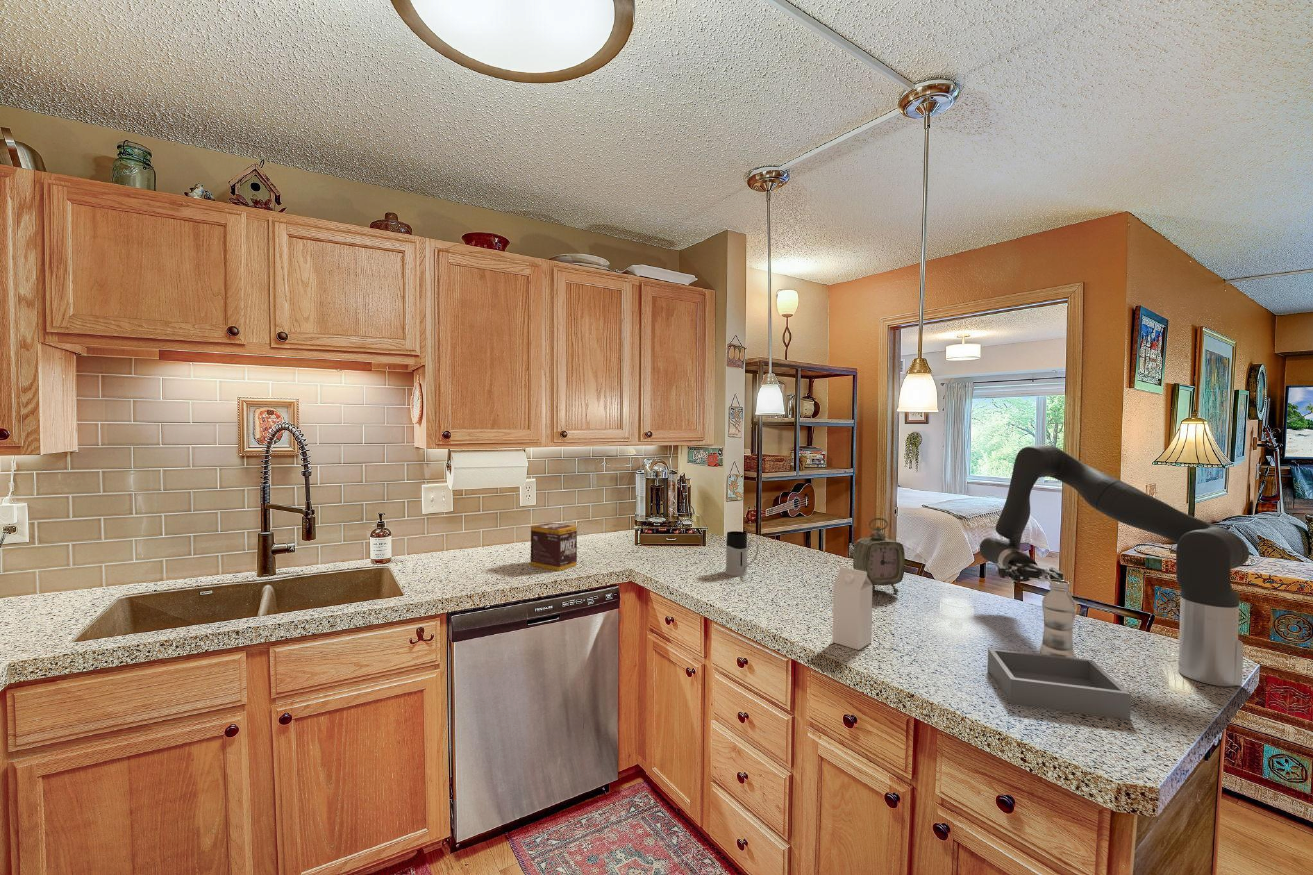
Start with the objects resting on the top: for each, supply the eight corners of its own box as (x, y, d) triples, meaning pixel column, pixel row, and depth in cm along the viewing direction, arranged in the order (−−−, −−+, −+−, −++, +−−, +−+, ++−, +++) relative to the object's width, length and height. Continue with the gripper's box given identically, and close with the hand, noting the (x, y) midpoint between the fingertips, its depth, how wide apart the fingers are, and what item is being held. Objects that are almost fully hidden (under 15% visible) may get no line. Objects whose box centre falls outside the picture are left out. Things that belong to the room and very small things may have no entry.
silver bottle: (1040, 658, 133) (1042, 575, 132) (1075, 666, 129) (1078, 581, 128) (1037, 667, 128) (1040, 581, 127) (1074, 675, 124) (1076, 587, 123)
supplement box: (559, 571, 207) (559, 530, 207) (530, 565, 216) (530, 525, 215) (577, 565, 216) (577, 526, 216) (548, 560, 224) (549, 521, 224)
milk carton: (845, 635, 146) (846, 564, 146) (871, 643, 141) (872, 569, 141) (832, 642, 141) (833, 568, 141) (858, 650, 136) (860, 574, 136)
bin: (1091, 682, 120) (1092, 659, 120) (1130, 720, 105) (1130, 694, 105) (987, 669, 126) (988, 648, 126) (1010, 703, 111) (1010, 679, 111)
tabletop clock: (864, 597, 179) (866, 520, 179) (849, 588, 188) (850, 515, 188) (904, 594, 182) (905, 519, 182) (887, 586, 191) (888, 514, 191)
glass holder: (734, 568, 214) (735, 529, 213) (765, 576, 203) (765, 535, 203) (720, 572, 208) (720, 532, 207) (750, 580, 197) (750, 538, 197)
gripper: (988, 549, 157) (1006, 563, 142) (1047, 553, 153) (1072, 568, 138) (987, 575, 158) (1005, 592, 142) (1045, 580, 153) (1070, 598, 138)
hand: (1038, 580), depth 140 cm, fingers open, 8 cm apart
